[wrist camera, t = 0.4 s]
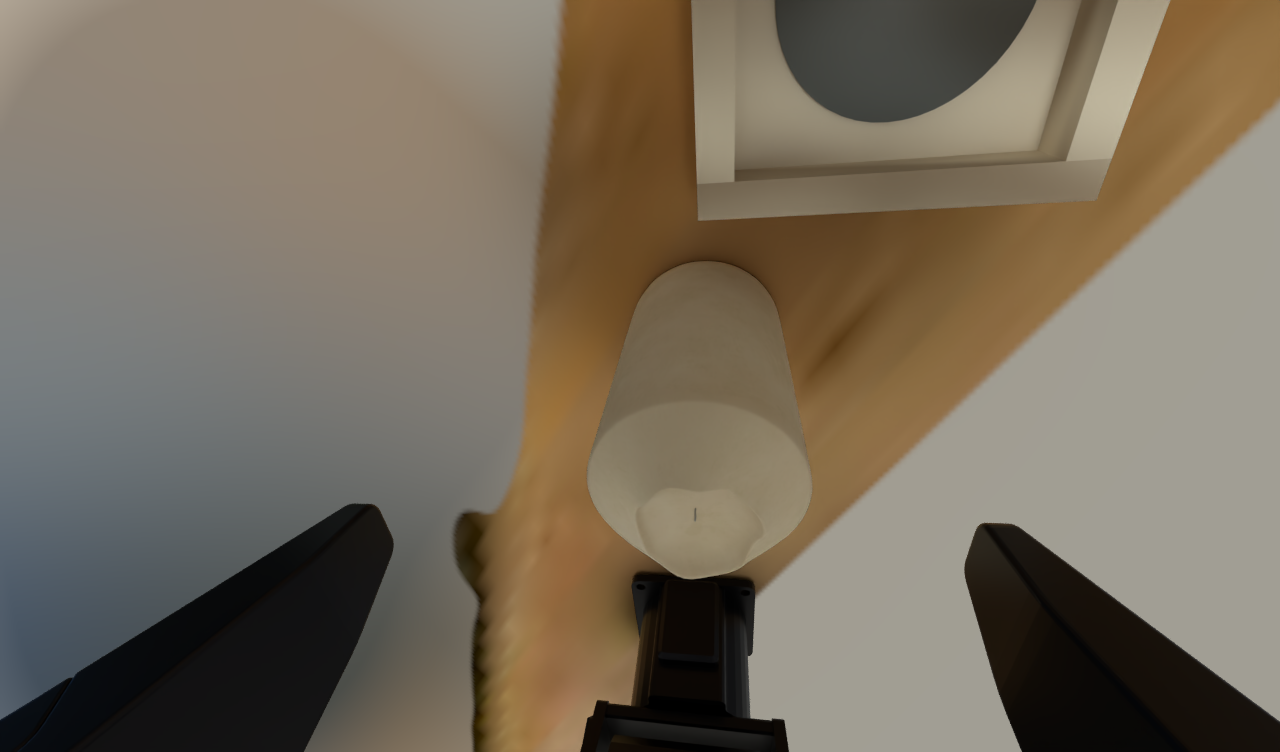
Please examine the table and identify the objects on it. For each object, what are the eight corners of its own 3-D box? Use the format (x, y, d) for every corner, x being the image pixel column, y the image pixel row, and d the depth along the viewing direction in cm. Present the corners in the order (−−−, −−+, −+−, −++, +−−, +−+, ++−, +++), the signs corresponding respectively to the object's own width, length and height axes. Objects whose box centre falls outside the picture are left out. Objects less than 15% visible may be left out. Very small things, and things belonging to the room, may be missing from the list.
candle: (615, 275, 19) (537, 460, 11) (768, 243, 18) (808, 426, 10) (653, 396, 22) (613, 616, 14) (788, 376, 21) (832, 607, 13)
